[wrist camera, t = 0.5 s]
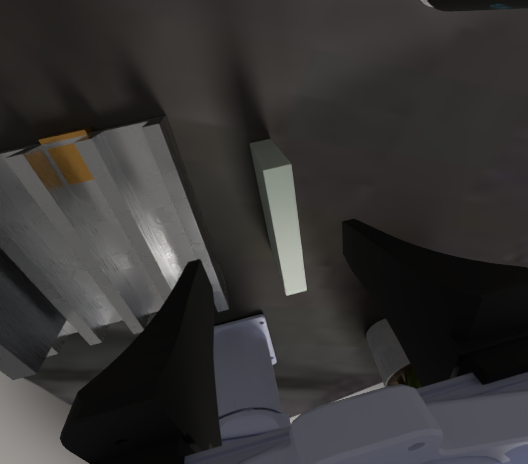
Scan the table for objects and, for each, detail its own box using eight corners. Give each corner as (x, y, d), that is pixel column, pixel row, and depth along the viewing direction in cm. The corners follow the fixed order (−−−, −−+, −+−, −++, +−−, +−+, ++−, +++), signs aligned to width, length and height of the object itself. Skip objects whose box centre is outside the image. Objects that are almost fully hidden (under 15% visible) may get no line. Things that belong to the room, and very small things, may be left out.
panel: (287, 245, 25) (306, 290, 20) (270, 249, 25) (286, 295, 20) (270, 138, 20) (291, 163, 15) (249, 143, 19) (262, 170, 14)
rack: (227, 286, 26) (232, 349, 20) (62, 328, 26) (19, 406, 20) (164, 110, 17) (141, 133, 11) (-93, 166, 17) (-258, 223, 11)
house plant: (450, 270, 31) (638, 431, 17) (440, 336, 39) (566, 485, 25) (334, 310, 31) (430, 500, 18) (347, 368, 39) (422, 532, 25)
